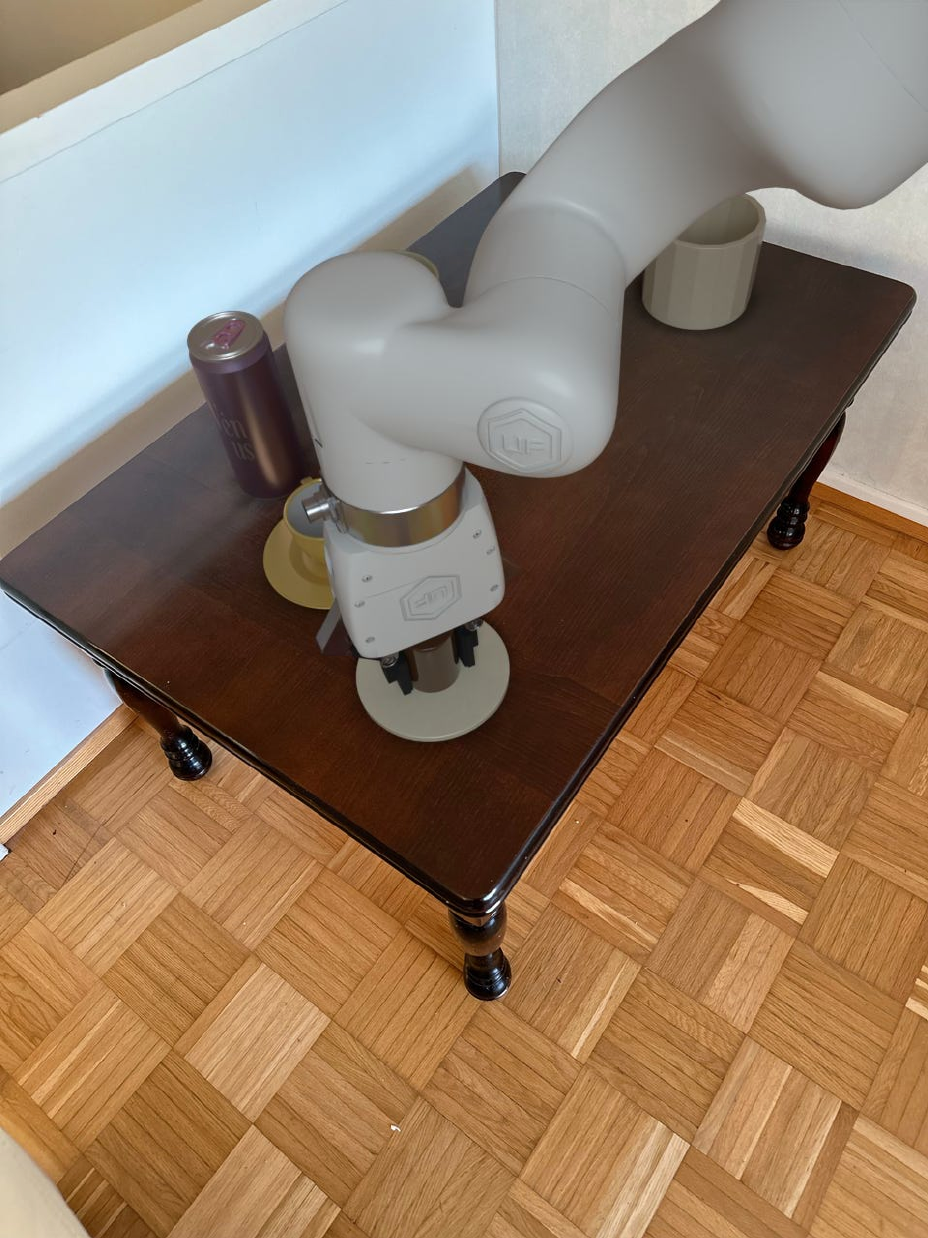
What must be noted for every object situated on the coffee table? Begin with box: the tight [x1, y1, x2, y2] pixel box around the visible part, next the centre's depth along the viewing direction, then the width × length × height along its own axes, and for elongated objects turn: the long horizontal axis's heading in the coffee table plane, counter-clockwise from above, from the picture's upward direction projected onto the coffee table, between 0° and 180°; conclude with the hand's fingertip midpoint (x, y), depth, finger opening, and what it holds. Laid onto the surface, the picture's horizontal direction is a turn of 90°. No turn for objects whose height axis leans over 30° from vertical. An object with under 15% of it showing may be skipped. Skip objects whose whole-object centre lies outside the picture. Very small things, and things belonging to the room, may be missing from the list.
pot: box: [641, 193, 767, 331], centre depth 85 cm, size 10×10×8 cm
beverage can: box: [186, 310, 308, 502], centre depth 72 cm, size 6×6×15 cm
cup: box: [262, 476, 334, 610], centre depth 71 cm, size 12×12×5 cm
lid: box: [355, 620, 511, 743], centre depth 63 cm, size 11×11×7 cm
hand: (431, 663), depth 64 cm, fingers closed on lid, 4 cm apart
